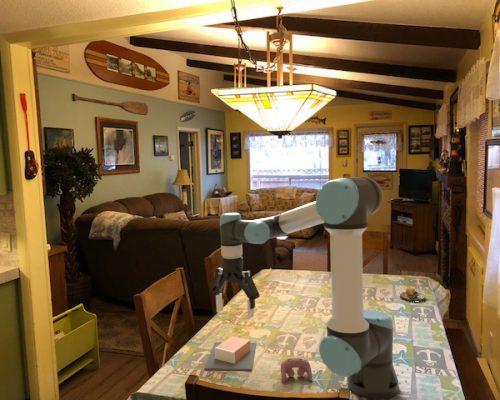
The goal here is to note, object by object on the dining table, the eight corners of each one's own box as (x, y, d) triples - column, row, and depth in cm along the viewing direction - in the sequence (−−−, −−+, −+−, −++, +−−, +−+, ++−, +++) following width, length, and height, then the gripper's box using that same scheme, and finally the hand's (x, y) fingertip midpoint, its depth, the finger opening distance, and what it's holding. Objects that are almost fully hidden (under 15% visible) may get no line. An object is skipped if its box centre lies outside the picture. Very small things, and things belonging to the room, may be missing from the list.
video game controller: (310, 380, 136) (308, 357, 139) (313, 380, 132) (311, 356, 134) (280, 381, 136) (279, 358, 138) (282, 382, 131) (280, 358, 134)
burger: (429, 302, 200) (429, 287, 199) (404, 303, 200) (404, 288, 200) (419, 294, 212) (420, 280, 211) (396, 295, 212) (396, 280, 212)
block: (231, 336, 157) (214, 347, 148) (250, 340, 153) (233, 352, 144) (232, 346, 157) (215, 358, 148) (250, 350, 153) (234, 363, 144)
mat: (251, 370, 140) (251, 368, 140) (204, 369, 142) (204, 368, 141) (256, 344, 160) (256, 342, 160) (214, 343, 161) (214, 342, 161)
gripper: (267, 256, 146) (270, 316, 147) (210, 251, 159) (213, 306, 161) (256, 261, 139) (259, 323, 141) (198, 255, 153) (201, 312, 154)
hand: (234, 314), depth 151 cm, fingers open, 13 cm apart
